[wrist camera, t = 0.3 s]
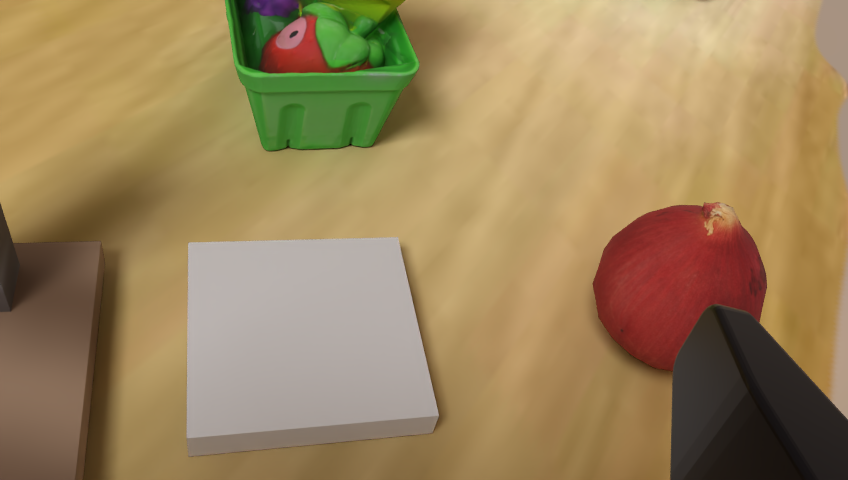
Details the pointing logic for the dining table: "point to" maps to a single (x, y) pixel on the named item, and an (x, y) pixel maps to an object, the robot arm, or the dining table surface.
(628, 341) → the onion
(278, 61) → the fruit basket
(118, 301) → the dining table surface
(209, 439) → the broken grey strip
